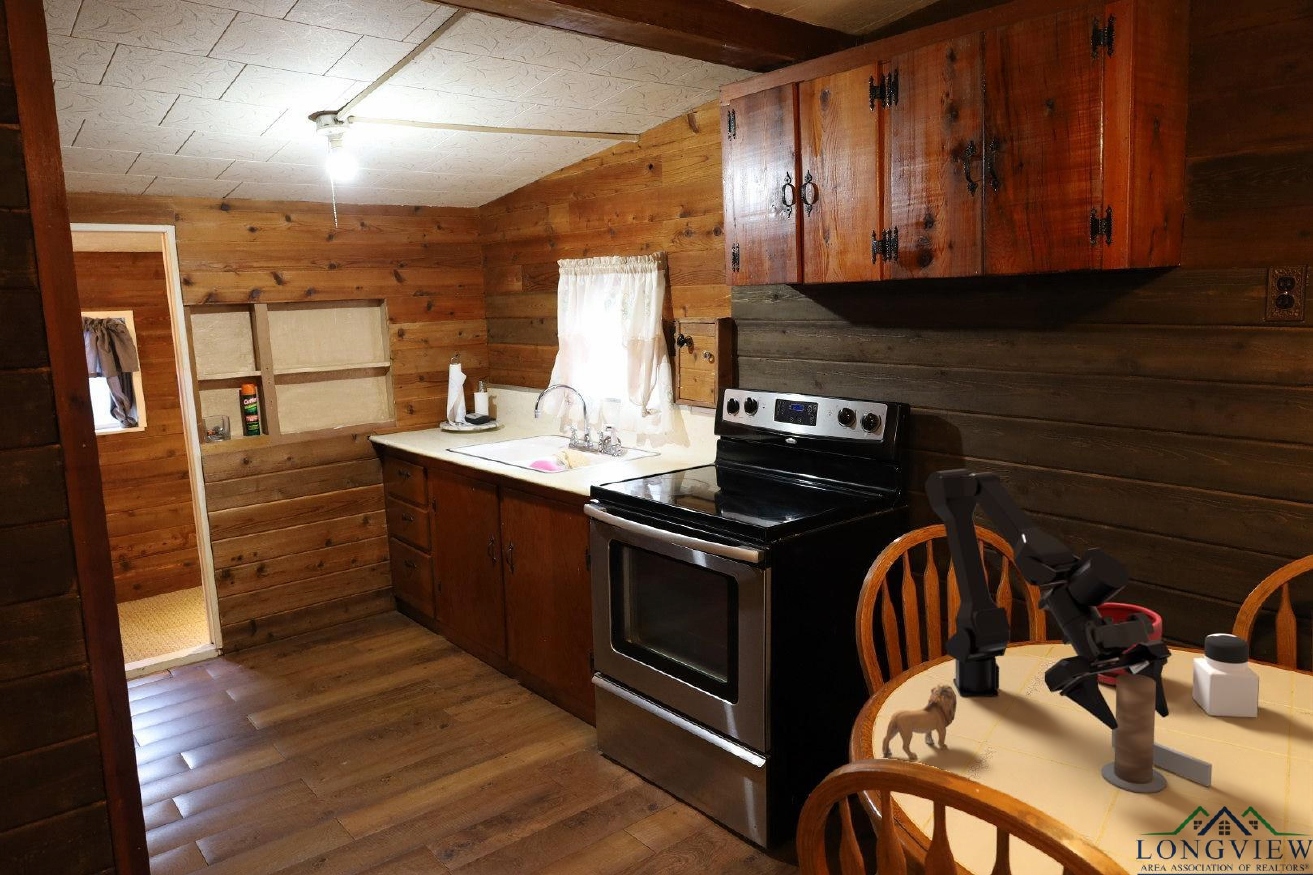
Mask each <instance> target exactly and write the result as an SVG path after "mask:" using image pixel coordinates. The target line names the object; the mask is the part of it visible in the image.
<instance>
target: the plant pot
mask: <svg viewBox="0 0 1313 875" xmlns="http://www.w3.org/2000/svg"><path fill="white" fill-rule="evenodd" d="M1096 609H1097V610H1098V612H1099V614H1100V615H1101V617H1107V616H1109V618H1111V619H1112V620H1113V622H1114V623H1115V624H1119V622H1121V623H1125V622H1127V616H1128V615H1131V614H1137V613H1142V612H1144V613H1145V614H1146V616H1147V617H1148V618H1149V619H1150V621H1151V622H1152V625H1153V627H1154V633H1153V634H1150V635H1148V637H1149V640H1150V641H1152V640H1159V641H1161V640H1162V634H1163V620H1162V617H1161V616H1160V615H1159V614H1158V613H1156V612H1154V611H1153V610H1151V609H1148V608H1146V607H1142V606H1140V605H1139V606H1138V605H1134V604H1128V603H1117V602H1106V603H1104V604H1103V605H1101V606H1098V607H1096ZM1140 643H1142V642H1140ZM1137 644H1139V643H1135V645H1133V646H1132V647H1131V648H1129V649H1128V650H1125V651H1123V654H1125V653H1126V652H1128V651H1129V650H1130V649H1132V648H1133V647H1135V646H1136V645H1137ZM1111 664H1115V662H1114V663H1111ZM1098 667H1101V666H1098ZM1121 674H1129V673H1128V672H1126V671H1125V670H1124V669H1123V668H1122V669H1118V670H1113V671H1108V672H1104V673H1099V674H1098V682H1101V683H1104V684H1108V685H1111V686H1116V684H1117V676H1118V675H1121Z"/></svg>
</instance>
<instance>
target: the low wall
mask: <svg viewBox="0 0 1313 875" xmlns="http://www.w3.org/2000/svg"><path fill="white" fill-rule="evenodd" d="M1111 748H1112V749H1115V729H1114V730H1112V729H1111ZM1154 765H1155V766H1157V767H1159V768H1162V769H1164V770H1166V771H1169V772H1171V773H1174V774H1176V775H1179V776H1181V777H1183V778H1186V779H1188V780H1191V781H1193V782H1196V783H1199V784H1200V785H1203V786H1206V787H1209V786H1212V773H1213V772H1212V770H1213V764H1212V763H1210V762H1207V761H1204V760H1202V759H1199V758H1196V757H1195V756H1191V755H1189V754H1186V753H1184V752H1182V751H1179V750H1176V749H1174V748H1171V747H1168V746H1166V745H1163V744H1160V743H1158V742H1155V741H1154V754H1153V766H1154Z"/></svg>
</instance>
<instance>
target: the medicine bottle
mask: <svg viewBox="0 0 1313 875" xmlns="http://www.w3.org/2000/svg"><path fill="white" fill-rule="evenodd" d="M1249 651H1250V645H1249V643H1248V641H1247V640H1246V639H1244V638H1241V637H1240V636H1236V635H1233V634H1228V633H1213V634H1210V635H1207V636H1206V637H1205V639H1204V651H1203V652H1204V657H1200V658H1199V657H1194V658H1193V669H1192V670H1193V672H1192V676H1193V677H1192V694H1191V695H1192V696H1191V697H1192V699H1193V700H1194V701H1195V702H1196V703H1197V704H1198V706H1200V707H1201V708H1202V709H1203V711H1205V713H1207V715H1209V716H1212V717H1228V718H1229V717H1232V718H1233V717H1234V718H1235V717H1236V718H1255V719H1256V718H1258V716H1259V715H1258V714H1259V691H1260V690H1259V689H1260V676H1259V675H1258V674H1257V673H1256V672H1255V671H1254V670H1252V669H1251V668H1250V667H1249V653H1250V652H1249Z"/></svg>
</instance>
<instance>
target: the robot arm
mask: <svg viewBox="0 0 1313 875" xmlns="http://www.w3.org/2000/svg"><path fill="white" fill-rule="evenodd" d="M925 492H926V495H927V498H928V501H929V505H930V508H931V510H933V511H934V512H935V514H936V515H937V516H938V517H939V518H940V519H941V520H942V522H943V525H944V528H945V534H946V540H947V544H948V548H949V552H950V556H951V562H952V567H953V570H954V576H955V581H956V584H957V589H958V590H957V591H958V595H959V599H960V604H959V607H958V610H957V613H956V616H955V619H954V622H955V628H956V632H955V633H953V635H952V636H951V637H950V638H949V639H948V640H947V641H945V643H944V644H945V645H944V646H945V649H946V653H947V656H948V657H950V658H953V659H954V660H955V678H953V679H952V682H953V685H954V686H955V687H956V690H957V693H958V694H959V696H965V697H966V696H969V697H970V696H971V697H972V696H973V697H974V696H977V697H978V696H980V697H982V696H983V697H998V696H999V691H998V690H999V689H1000V666H999V664H998V663H997V657H1004V656H1005V654H1006V650H1007V647H1008V644H1009V642H1010V641H1011V633H1010V632H1011V631H1012V627H1011V626H1010V622H1009V619H1008V612H1007V610H1006V608H1005V607H1004V606H998V605H997V604H996V603H995V602H994V601H993V599H992V597H991V594H990V590H989V586H988V585H989V584H988V580H987V576H986V571H985V568H984V564H983V563H984V561H983V558H982V554H981V548H980V545H979V540H978V536H977V535H978V534H977V532H976V530H977V529H976V526H975V521H974V514H975V511H976V508H977V505H979V507H980V508H981V510H983V512H984V513H985V515H986V516H987V517H988V518H989V519H990V521H991V522H992V524H993V525H994V526H995V527H996V528H997V530H998V532H1000V534H1001V535H1002V536H1003V537H1004V538H1005V540H1006V541H1007V542H1008V544H1009V545H1010V547H1011V549H1012V552H1013V553H1012V555H1013V563H1014V565H1015V567H1016V568H1017V570H1018V572H1019V573H1020V575H1021V576H1022V578H1023V580H1024V581H1025V582H1026V583H1027V584H1028V585H1030V586H1031V587H1032V586H1033V587H1042V586H1048V585H1055V586H1054V587H1053V588H1051V589H1050V590H1043V591H1041V592H1040V596H1039V600H1038V602H1037V609H1038V610H1046V609H1050V610H1051V613H1052V614H1053V616H1054V618H1055V619H1056V622H1057V623H1058V625H1059V626H1060V628H1061V630H1062V632H1063V633H1064V636H1063V637H1061V641H1062V643H1063V644H1064V646H1066V645H1071V647H1072V648H1073V651H1074V652H1075V654H1076V655H1075V656H1070V657H1064V658H1061V659H1060V660H1058V661H1056V663H1055V664H1053V665H1052V666H1050V667H1049V668H1048V669H1047V670H1046V671H1045V672H1044V683H1045V685H1046V686H1047V688H1048V690H1049V692H1050V693H1054V692H1055V693H1056V692H1058V695H1059V696H1061V697H1066V698H1068V699H1069V700H1071V701H1073V702H1074V703H1075V704H1077V705H1078V706H1080V707H1082V709H1084V710H1086V711H1087V712H1088V713H1090V714H1091V715H1092V716H1093V717H1095V718H1096V719H1097V720H1098V721H1100V722H1101V723H1103V725H1105V726H1107V727H1108V728H1109V729H1110V730H1111V731H1112V730H1114V729H1116V728H1118V724H1117V722H1116V716H1115V715H1114V713H1113V712H1112V710H1111V708H1110V705H1109V704H1108V702H1107V701H1106V699H1105V697H1104V695H1103V693H1102V692H1101V689H1100V687H1099V686H1100V685H1099V680H1098V674H1099V673H1104V672H1108V671H1113V670H1118V669H1122V668H1123V669H1124V670H1125V671H1126V672H1128V673H1129V674H1139V675H1143V676H1147V677H1149V678H1151V679H1153V680H1154V681H1155V682H1156V696H1155V712H1157V714H1158V715H1160V717H1161V718H1163V719H1164V718H1166V717H1168V716H1169V715H1170V711H1169V707H1168V701H1167V699H1166V694H1165V690H1164V689H1165V688H1164V685H1163V680H1162V679H1163V678H1162V674H1163V673H1162V672H1163V669H1164V666H1165V665H1167V664H1168V661H1169V660H1168V658H1170V657H1171V656H1172V655H1173V654H1172V652H1171V650H1170V649H1169V648H1168V646H1167V645H1166V643H1165V641H1164V642H1163V641H1159V640H1152V641H1150V640H1149V637H1148V635H1150V634H1153V633H1154V627H1153V625H1152V622H1151V621H1150V619H1149V618H1148V617H1147V616H1146V614H1145V613H1144V612H1142V613H1137V614H1131V615H1128V616H1127V622H1125V623H1123V622H1120V623H1118V624H1115V623H1114V622H1113V620H1112V617H1110V616H1107V617H1101V615H1100V614H1099V612H1098V610H1097V609H1096V607H1098V606H1101V605H1103V604H1104V603H1108V601H1110V599H1112V598H1113V597H1114V596H1115V595H1117V594H1118V593H1119V592H1121V590H1122V589H1124V588H1125V587H1126V586H1127V585H1128V583H1129V581H1130V574H1129V571H1128V570H1127V567H1125V564H1123V563H1121V562H1120V561H1119V560H1117V558H1115V557H1113V556H1111V555H1109V554H1105V553H1104V552H1103V550H1102V549H1101V547H1094V548H1088V549H1087V550H1086V551H1085V552H1084V553H1083V554H1082V556H1081V557H1079V556H1076V555H1075V554H1073V553H1072V551H1071V550H1070V548H1068V547H1067V546H1065V544H1064V543H1062V541H1060V540H1059V539H1058V538H1056V537H1054V536H1053V535H1050V534H1048V533H1046V532H1044V531H1042V530H1041V529H1039V528H1038V527H1037V525H1036V524H1035V523H1034V521H1032V519H1031V518H1030V517H1029V516H1028V515H1027V514H1026V512H1025V511H1024V510H1023V509H1022V507H1021V506H1020V505H1019V504H1018V502H1017V501H1016V500H1015V499H1014V498H1013V497H1012V495H1011V494H1010V493H1009V491H1007V489H1006V488H1005V487H1004V486H1003V484H1002V482H1001V479H1000V477H999V475H998V474H996V473H994V472H991V471H983V472H975V473H973V472H972V473H971V472H970V471H969V470H968V469H967V468H958V469H949V470H939V471H932V473H930V474H929V476H928V478H927V480H926V482H925ZM1140 642H1142V643H1140ZM1135 643H1139V644H1137V645H1136V646H1135V647H1133V648H1132V649H1130V650H1129V651H1128V652H1126V653H1125V654H1123V651H1125V650H1128V649H1129V648H1131V647H1132V646H1133V645H1135ZM1114 662H1115V664H1111V663H1114ZM1098 666H1101V667H1098Z"/></svg>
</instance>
